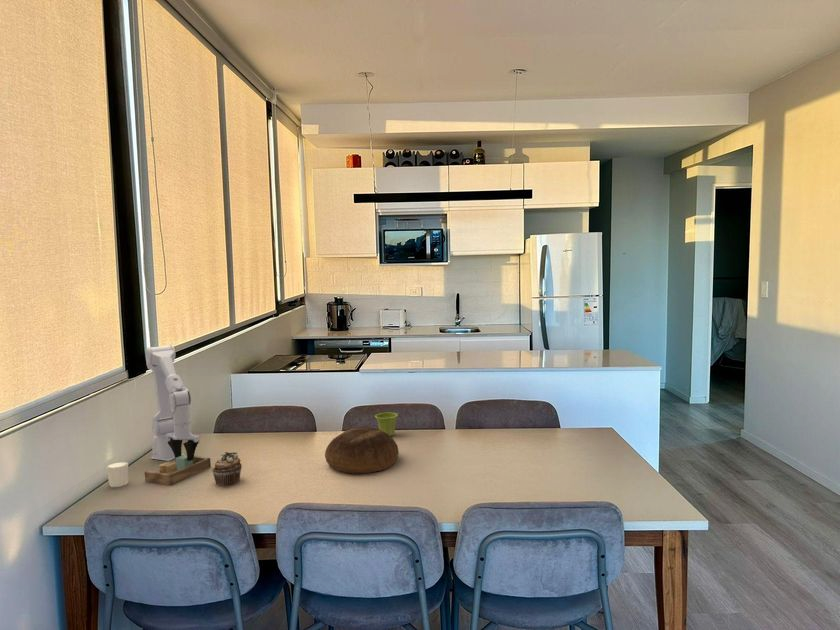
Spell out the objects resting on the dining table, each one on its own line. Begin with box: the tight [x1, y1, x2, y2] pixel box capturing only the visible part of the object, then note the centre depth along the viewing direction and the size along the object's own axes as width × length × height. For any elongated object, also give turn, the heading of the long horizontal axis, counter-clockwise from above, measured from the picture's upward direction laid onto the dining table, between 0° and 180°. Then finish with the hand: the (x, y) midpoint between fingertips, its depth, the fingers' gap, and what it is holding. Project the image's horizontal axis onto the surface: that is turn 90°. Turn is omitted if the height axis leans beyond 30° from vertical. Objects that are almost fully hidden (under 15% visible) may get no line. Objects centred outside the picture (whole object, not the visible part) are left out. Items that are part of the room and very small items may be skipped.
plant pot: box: [375, 412, 399, 437], centre depth 254 cm, size 9×9×9 cm
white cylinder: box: [105, 461, 129, 488], centre depth 207 cm, size 7×7×7 cm
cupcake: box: [211, 451, 243, 487], centre depth 205 cm, size 10×10×10 cm
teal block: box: [175, 454, 193, 471], centre depth 220 cm, size 4×4×5 cm
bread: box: [324, 426, 399, 475], centre depth 220 cm, size 26×27×13 cm
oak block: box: [158, 461, 177, 474], centre depth 212 cm, size 4×4×5 cm
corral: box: [144, 455, 212, 486], centre depth 215 cm, size 12×19×4 cm, turn 156°
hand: (184, 459), depth 220 cm, fingers open, 5 cm apart
